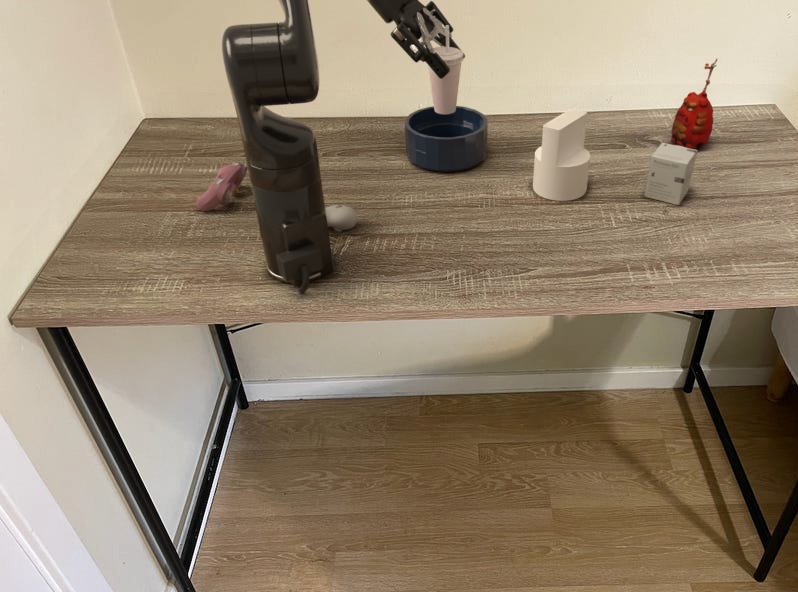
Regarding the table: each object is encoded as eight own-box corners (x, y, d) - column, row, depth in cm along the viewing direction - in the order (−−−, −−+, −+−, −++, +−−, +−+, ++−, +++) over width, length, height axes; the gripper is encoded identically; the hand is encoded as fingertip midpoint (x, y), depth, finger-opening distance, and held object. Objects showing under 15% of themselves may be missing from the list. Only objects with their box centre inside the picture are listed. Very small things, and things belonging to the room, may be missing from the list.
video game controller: (219, 223, 122) (229, 189, 118) (192, 209, 122) (202, 175, 117) (244, 194, 130) (255, 161, 125) (220, 180, 129) (230, 147, 124)
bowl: (502, 160, 136) (504, 125, 132) (436, 182, 130) (435, 146, 125) (456, 132, 145) (456, 99, 141) (391, 152, 139) (389, 117, 134)
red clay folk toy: (661, 138, 143) (675, 57, 133) (692, 132, 145) (708, 51, 135) (687, 155, 137) (703, 71, 128) (718, 147, 140) (736, 64, 130)
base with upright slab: (568, 206, 123) (575, 135, 115) (522, 190, 127) (526, 121, 120) (596, 185, 129) (604, 116, 121) (551, 170, 133) (556, 103, 125)
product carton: (643, 197, 125) (650, 155, 121) (654, 182, 130) (661, 141, 125) (679, 206, 123) (688, 163, 119) (689, 190, 127) (698, 148, 123)
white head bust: (360, 228, 120) (354, 235, 116) (309, 226, 121) (302, 233, 116) (359, 200, 119) (354, 207, 114) (308, 198, 119) (301, 205, 114)
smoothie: (463, 117, 129) (463, 32, 120) (425, 117, 129) (422, 31, 120) (464, 102, 134) (464, 19, 125) (427, 102, 134) (425, 19, 125)
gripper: (379, -21, 114) (453, 68, 119) (416, -44, 125) (483, 39, 129) (350, 12, 119) (422, 97, 124) (389, -12, 130) (454, 67, 134)
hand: (453, 67), depth 127 cm, fingers closed on smoothie, 6 cm apart
